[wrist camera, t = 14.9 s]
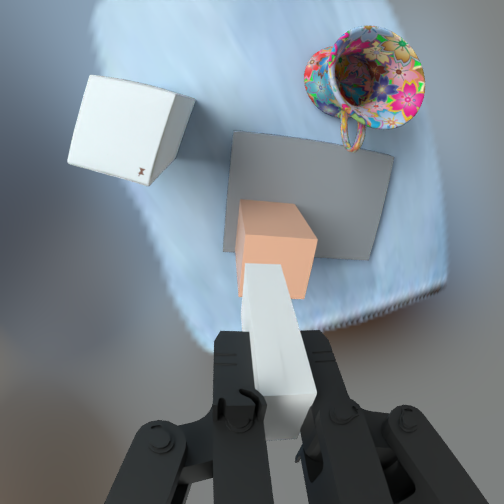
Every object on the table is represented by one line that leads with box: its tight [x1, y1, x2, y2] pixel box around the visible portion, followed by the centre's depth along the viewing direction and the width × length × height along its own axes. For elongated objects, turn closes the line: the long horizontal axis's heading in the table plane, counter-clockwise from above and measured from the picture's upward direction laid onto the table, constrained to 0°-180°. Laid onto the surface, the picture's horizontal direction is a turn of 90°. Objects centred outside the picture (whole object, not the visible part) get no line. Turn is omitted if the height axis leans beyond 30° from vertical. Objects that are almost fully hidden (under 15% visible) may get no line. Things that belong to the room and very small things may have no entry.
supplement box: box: [67, 75, 195, 186], centre depth 25 cm, size 7×7×13 cm
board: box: [223, 131, 394, 260], centre depth 35 cm, size 14×19×2 cm
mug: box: [304, 26, 425, 153], centre depth 25 cm, size 12×9×11 cm
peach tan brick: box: [235, 199, 318, 299], centre depth 31 cm, size 6×6×10 cm
